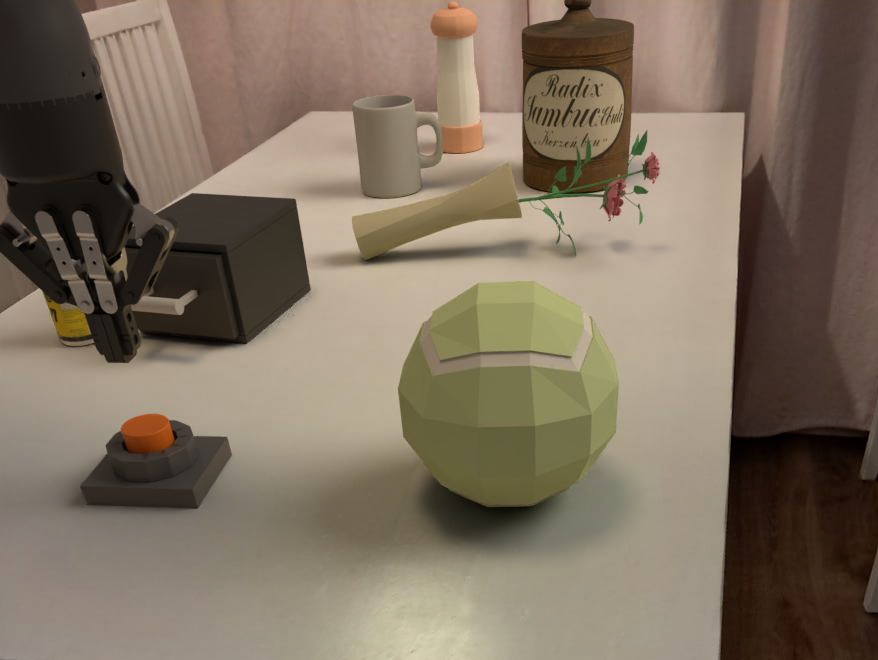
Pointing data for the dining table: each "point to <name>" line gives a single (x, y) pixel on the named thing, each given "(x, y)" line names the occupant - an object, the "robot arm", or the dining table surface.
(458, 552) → the dining table surface
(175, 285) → the drawer
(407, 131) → the mug
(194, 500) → the control block
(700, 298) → the dining table surface
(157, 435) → the button
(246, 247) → the black cabinet
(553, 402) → the tennis ball
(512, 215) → the flower vase
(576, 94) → the wooden container
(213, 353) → the dining table surface
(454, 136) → the pepper shaker
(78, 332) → the supplement bottle
